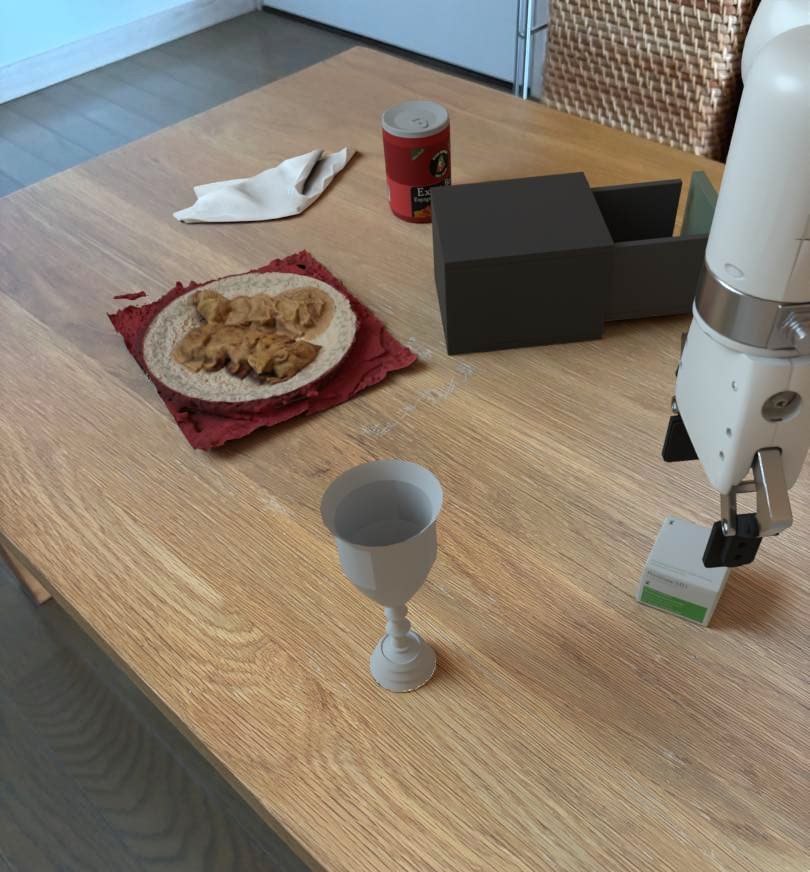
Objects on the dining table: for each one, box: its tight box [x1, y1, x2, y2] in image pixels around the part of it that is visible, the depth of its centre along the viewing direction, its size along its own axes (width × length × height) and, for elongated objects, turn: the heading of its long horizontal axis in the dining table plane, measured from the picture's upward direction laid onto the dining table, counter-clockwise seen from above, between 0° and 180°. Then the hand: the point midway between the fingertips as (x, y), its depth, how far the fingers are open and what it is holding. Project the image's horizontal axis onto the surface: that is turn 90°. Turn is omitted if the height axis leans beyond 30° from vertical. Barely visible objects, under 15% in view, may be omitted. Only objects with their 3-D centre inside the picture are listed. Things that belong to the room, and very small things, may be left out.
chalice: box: [319, 458, 444, 692], centre depth 57 cm, size 7×7×18 cm
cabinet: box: [430, 171, 615, 356], centre depth 87 cm, size 16×14×11 cm
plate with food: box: [106, 248, 418, 452], centre depth 88 cm, size 24×26×3 cm
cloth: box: [172, 146, 358, 224], centre depth 109 cm, size 26×14×2 cm, turn 113°
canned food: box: [381, 100, 452, 224], centre depth 101 cm, size 8×8×11 cm
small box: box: [635, 514, 733, 628], centre depth 65 cm, size 6×6×5 cm
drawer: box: [590, 170, 719, 322], centre depth 87 cm, size 19×12×9 cm, turn 94°
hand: (703, 507), depth 59 cm, fingers open, 9 cm apart
